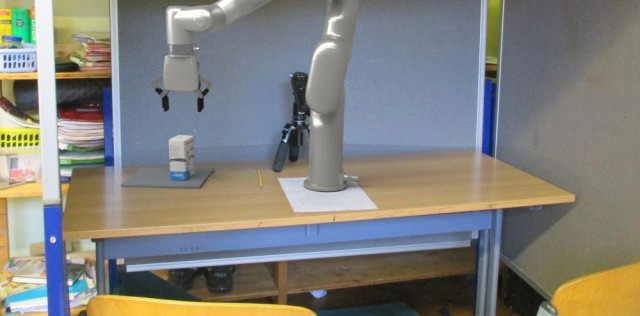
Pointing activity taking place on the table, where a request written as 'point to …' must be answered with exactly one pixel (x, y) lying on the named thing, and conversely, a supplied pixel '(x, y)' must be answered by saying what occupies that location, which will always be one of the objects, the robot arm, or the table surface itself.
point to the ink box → (181, 157)
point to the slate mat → (165, 179)
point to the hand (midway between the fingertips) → (183, 111)
